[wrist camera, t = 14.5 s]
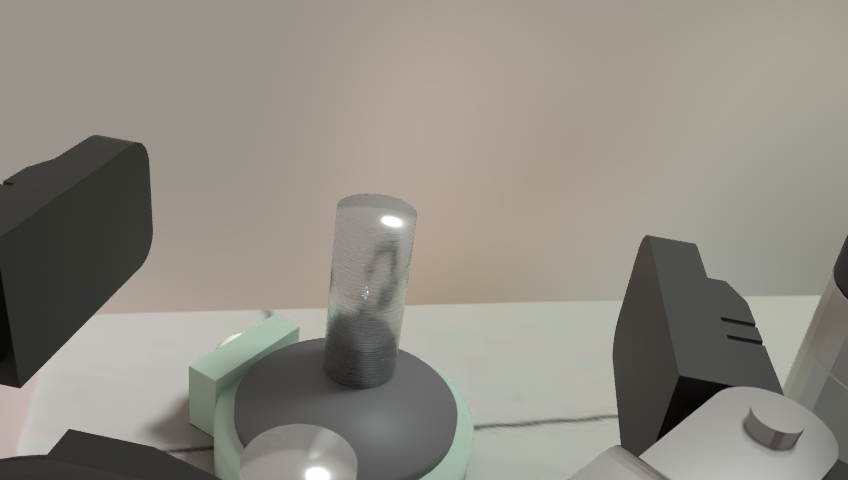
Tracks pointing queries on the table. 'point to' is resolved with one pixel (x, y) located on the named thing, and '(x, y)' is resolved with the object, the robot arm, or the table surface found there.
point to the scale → (328, 406)
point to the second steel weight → (368, 289)
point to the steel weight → (298, 455)
